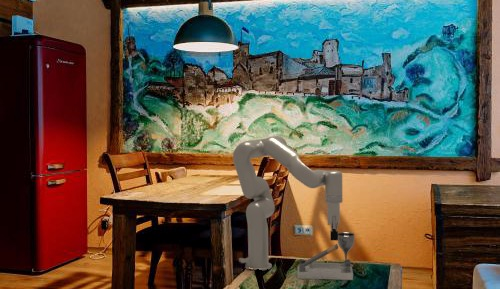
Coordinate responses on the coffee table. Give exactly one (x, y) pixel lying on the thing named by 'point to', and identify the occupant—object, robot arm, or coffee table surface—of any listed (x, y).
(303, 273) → the grey flat base
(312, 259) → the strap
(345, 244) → the wine glass
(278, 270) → the coffee table surface
